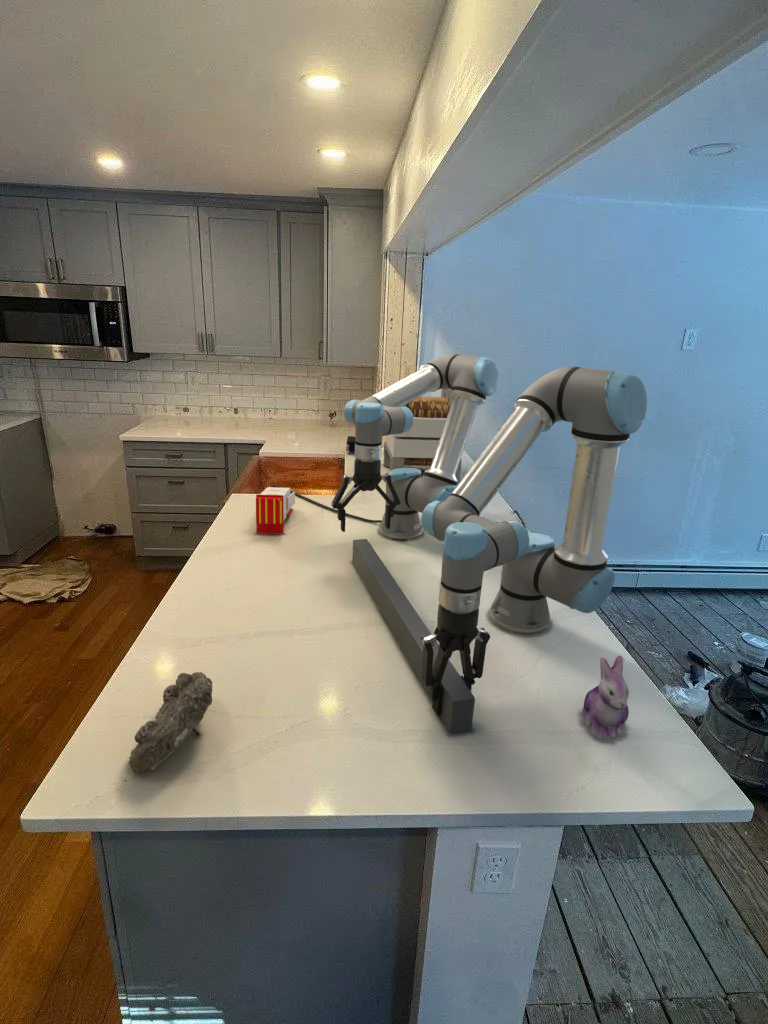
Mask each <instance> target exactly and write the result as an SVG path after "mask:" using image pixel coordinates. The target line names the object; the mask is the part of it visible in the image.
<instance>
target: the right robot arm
mask: <svg viewBox="0 0 768 1024" xmlns="http://www.w3.org/2000/svg"><path fill="white" fill-rule="evenodd" d="M647 408H648V394H647V388H646V386H645V385H644V382H643V380H642V379H641V378H640V377H639V376H637V375H635V374H632V373H628V372H624V371H620V370H611V369H610V370H609V369H601V368H600V369H599V368H589V367H580V366H576V365H575V366H573V365H572V366H571V365H570V366H563V367H560V368H556V369H554V370H552V371H550V372H548V373H545V374H544V375H543V376H541V377H539V378H537V380H535V381H534V382H533V383H531V384H530V385H529V386H528V387H527V388H526V389H525V390H524V391H523V392H522V393H521V394H520V395H519V396H518V398H517V399H516V400H515V402H514V403H513V405H512V411H513V412H512V413H511V414H510V416H509V417H508V418H507V420H506V421H505V422H504V423H503V424H502V427H501V428H500V429H499V430H498V431H497V433H496V434H495V436H494V437H493V438H492V439H491V441H490V442H489V443H488V444H487V446H486V447H485V449H484V450H483V451H482V452H481V454H480V455H479V456H478V457H477V459H476V460H475V461H474V463H473V464H472V465H471V467H470V468H469V470H468V471H466V473H465V474H464V476H463V477H462V478H461V479H460V482H459V483H457V486H456V488H455V489H454V490H453V492H452V493H451V494H450V495H449V497H448V498H447V499H446V500H445V502H443V501H433V502H432V503H430V504H428V505H427V506H426V507H425V509H424V511H423V513H421V516H420V522H421V525H422V531H424V532H425V534H427V535H429V536H430V537H432V538H434V539H436V540H438V541H439V542H443V544H442V546H441V547H442V548H441V549H442V558H441V559H442V560H441V575H440V581H439V583H440V584H439V594H438V607H437V617H436V628H435V629H434V631H433V634H432V635H431V636H428V637H426V636H425V635H423V636H422V637H421V642H422V645H423V656H422V672H421V678H422V680H423V681H424V683H425V685H426V686H430V693H429V694H430V697H431V698H432V700H433V703H432V709H433V711H434V713H435V714H436V716H437V717H440V716H441V708H442V698H443V686H442V685H441V681H442V678H443V675H444V672H445V669H446V666H447V663H448V660H450V659H451V658H452V655H453V653H454V652H456V651H458V652H459V657H460V658H459V659H460V663H461V664H460V665H461V671H462V675H460V676H461V678H462V679H463V681H464V682H465V684H466V685H467V687H468V688H469V690H470V691H471V692H472V686H473V685H475V683H476V679H482V677H483V672H484V666H485V665H484V664H485V660H486V659H485V658H486V651H487V645H488V643H489V641H490V639H491V634H490V633H489V632H488V630H487V629H486V628H485V627H481V628H478V623H479V615H480V604H481V596H482V587H483V579H484V573H485V572H487V571H489V570H492V569H494V568H497V567H499V566H502V570H501V576H500V577H501V578H500V586H499V589H498V592H497V594H496V595H495V597H494V600H493V601H492V604H491V606H490V608H489V619H490V621H491V622H492V623H493V624H494V625H495V626H496V627H498V628H500V629H501V630H504V631H506V632H508V633H513V634H517V635H524V636H526V635H527V636H529V635H532V636H533V635H539V634H541V633H544V632H546V631H547V630H548V629H549V627H550V624H551V623H550V622H551V613H550V609H549V604H548V599H547V598H549V599H551V600H553V601H556V602H557V603H560V604H562V605H564V606H566V607H569V609H571V610H576V611H578V612H581V613H583V614H591V613H594V612H595V611H596V610H598V609H599V608H601V606H602V605H603V604H604V603H605V601H606V600H607V599H608V597H609V595H610V594H611V591H612V590H613V587H614V584H615V580H616V574H615V571H614V570H613V569H611V567H607V563H608V559H609V556H608V554H607V553H606V551H605V550H604V549H603V545H604V540H605V533H606V528H607V523H608V517H609V511H610V505H611V499H612V494H613V488H614V482H615V476H616V472H617V471H616V470H617V464H618V460H619V454H620V448H621V446H623V445H624V444H626V442H628V441H630V436H631V435H633V434H635V433H636V432H638V430H640V428H641V427H642V425H643V421H644V420H645V418H646V415H647V410H648V409H647ZM562 421H563V422H568V423H571V424H572V425H571V432H570V434H571V436H572V437H573V438H574V439H575V441H576V448H575V456H574V462H573V469H572V475H571V483H570V489H569V495H568V503H567V509H566V510H567V511H566V516H565V522H564V531H563V537H562V542H561V543H559V544H558V545H556V542H555V539H554V537H552V536H550V535H546V534H544V533H543V534H542V533H535V532H528V531H527V527H526V523H525V522H524V520H523V518H522V517H521V515H520V514H519V512H518V511H517V510H515V509H514V510H513V512H512V513H513V514H516V516H517V518H518V519H519V520H520V522H519V521H516V520H503V521H500V522H497V521H494V520H491V519H488V518H486V517H484V516H483V517H482V516H481V514H482V513H483V512H484V511H485V509H486V507H487V506H488V505H489V503H490V502H491V501H492V499H493V498H494V497H495V496H496V494H497V493H498V491H500V489H501V488H502V486H503V485H504V483H505V482H506V481H507V479H508V478H509V477H510V475H512V473H513V471H514V470H515V469H516V467H517V466H518V465H519V463H521V461H522V460H523V458H524V457H525V455H526V454H527V453H528V452H529V450H530V449H531V447H532V446H533V445H534V444H535V442H536V440H537V439H538V438H539V437H540V435H541V434H542V433H545V432H548V431H550V429H551V428H552V427H553V426H554V425H555V424H556V423H558V422H562ZM525 528H526V529H525ZM436 641H437V643H438V644H439V647H438V649H439V651H438V654H437V657H436V660H435V663H434V666H433V655H434V652H433V649H434V648H435V642H436ZM473 641H474V647H473V654H472V652H471V645H470V644H471V643H472V642H473ZM471 654H472V658H471Z"/></svg>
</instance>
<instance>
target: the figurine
mask: <svg viewBox="0 0 768 1024" xmlns="http://www.w3.org/2000/svg"><path fill="white" fill-rule="evenodd" d="M599 666H600V667H599V669H600V681H599V684H598V685H597V686H595V687H593V688H592V689H590V690H589V691H588V692H586V694H585V697H584V701H583V708H582V714H581V715H582V719H583V722H584V725H585V726H586V727H587V728H588V729H589V731H590V732H591V734H592V735H593V736H594V737H596V738H598V739H601V740H606V741H614V739H616V737H620V736H622V734H623V732H624V728H625V725H626V722H627V721H628V718H629V713H630V709H629V705H628V699H629V695H630V691H629V686H628V683H627V682H626V680H625V678H624V658H623V656H622V655H621V654H620V655H617V656H616V658H615V659H614V662H613V664H612V666H611V665H610V664H609V662H608V660H607V659H606V658H605V656H600V657H599Z"/></svg>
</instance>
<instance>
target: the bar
mask: <svg viewBox="0 0 768 1024" xmlns="http://www.w3.org/2000/svg"><path fill="white" fill-rule="evenodd" d="M352 564H353V565H354V567H355V570H356V571H357V573H358V574H359V576H360V578H361V580H362V581H363V583H364V585H365V587H366V589H367V590H368V592H369V594H370V596H371V598H372V599H373V601H374V602H375V604H376V606H377V608H378V610H379V611H380V613H381V615H382V617H383V619H384V621H385V622H386V624H387V625H388V627H389V629H390V631H391V633H392V634H393V636H394V638H395V639H396V642H397V643H398V645H399V646H400V648H401V650H402V652H403V654H404V656H405V658H406V659H407V661H408V663H409V664H410V666H411V668H412V670H413V671H414V673H415V676H417V679H418V681H419V682H420V684H421V686H422V687H423V690H424V691H425V692H426V694H427V696H428V698H429V700H430V702H431V703H432V704H433V700H432V698H431V697H430V694H429V693H430V686H426V685H425V683H424V681H423V680H422V678H421V672H422V656H423V645H422V642H421V637H422V636H423V635H425V636H426V637H428V636H431V635H433V634H432V632H431V631H430V630H429V628H428V627H427V625H426V624H425V622H424V620H423V619H422V617H421V616H420V615H419V614H418V612H417V610H416V609H415V608H414V606H413V605H412V603H411V602H410V600H409V599H408V597H407V596H406V594H405V593H404V591H403V590H402V588H401V587H400V585H399V584H398V582H397V581H396V579H395V578H394V576H392V573H391V572H390V570H389V569H388V568H387V565H386V564H385V563H384V562H383V561H382V559H381V557H380V556H379V555H378V553H377V552H376V550H375V549H374V547H373V545H372V544H371V542H370V541H369V540H368V538H360V539H353V540H352ZM438 647H439V642H438V640H437V641H436V642H435V648H434V649H433V652H434V655H433V666H434V663H435V660H436V657H437V654H438V651H439V649H438ZM461 676H462V675H460V673H459V672H458V671H457V669H456V667H455V666H454V665H453V663H452V662H451V660H450V659H449V660H448V663H447V666H446V669H445V672H444V675H443V678H442V681H441V685H442V686H443V698H442V708H441V716H439V717H440V719H441V721H442V723H443V724H444V726H445V728H446V730H447V731H448V733H449V735H452V734H457V733H462V732H463V733H464V732H470V731H472V728H473V727H472V726H473V719H474V709H475V702H476V697H475V695H474V693H472V690H471V691H470V690H469V688H468V687H467V685H466V684H465V682H464V681H463V679H462V678H461Z"/></svg>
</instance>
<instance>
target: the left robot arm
mask: <svg viewBox="0 0 768 1024" xmlns="http://www.w3.org/2000/svg"><path fill="white" fill-rule="evenodd" d="M499 382H500V372H499V367H498V365H497V363H496V362H495V360H493V359H492V358H491V357H485V356H482V355H479V356H478V355H477V356H476V355H467V354H459V353H450V354H446V355H443V356H440V357H437V358H434V359H432V360H430V361H428V362H426V363H423V364H422V365H421V366H420V367H419V368H418V370H417V371H415V372H414V373H412V374H410V375H408V376H406V377H404V378H402V379H400V380H399V381H396V382H395V383H393V384H391V385H389V386H387V387H385V388H383V389H381V390H379V391H378V392H376V393H374V394H372V395H370V396H369V397H366V398H364V399H362V400H360V399H350V400H349V401H347V403H346V404H345V406H344V409H343V416H344V419H345V421H346V422H347V423H349V424H351V425H354V426H355V427H354V432H355V434H354V437H355V454H354V458H355V459H354V462H353V463H354V464H353V467H354V468H353V470H354V471H353V476H352V475H347V474H344V475H343V476H342V481H341V484H340V486H339V487H338V490H337V491H336V492H335V495H334V497H333V499H332V501H331V503H330V506H331V507H330V506H327V505H325V504H323V503H320V502H318V501H315V500H313V499H311V498H310V497H306V496H304V495H302V494H300V493H297V492H295V497H299V498H301V499H303V500H306V501H307V502H310V503H312V504H315V505H317V506H319V507H321V508H324V509H326V510H329V511H332V512H334V513H337V517H336V518H337V519H338V521H340V530H341V532H342V533H345V532H346V516H347V517H348V518H352V519H357V520H359V521H363V522H368V523H373V524H378V523H379V527H378V533H379V534H380V535H381V536H382V537H385V538H387V539H389V540H395V541H410V540H415V539H418V538H420V537H421V536H422V535H423V528H422V525H421V517H420V515H419V513H421V514H422V513H423V511H424V509H425V507H426V506H427V505H428V504H430V503H432V502H433V501H443V502H445V500H446V499H447V498H448V497H449V495H450V494H451V493H452V492H453V490H454V489H455V488H456V486H457V485H458V484H459V483H458V481H457V479H456V477H455V474H456V471H457V468H458V465H459V462H460V459H461V458H462V457H463V453H464V450H465V447H466V444H467V441H468V438H469V435H470V433H471V430H472V427H473V424H474V421H475V417H476V414H477V411H478V408H479V406H481V405H483V404H485V402H486V400H487V397H490V396H492V395H494V394H495V392H496V391H497V390H498V387H499ZM442 389H450V390H451V394H452V396H453V401H452V404H451V407H450V410H449V413H448V416H447V419H446V422H445V425H444V428H443V431H442V434H441V437H440V440H439V443H438V446H437V449H436V452H435V455H434V458H433V461H432V464H431V465H430V466H429V468H427V469H425V470H424V471H423V474H422V470H421V469H420V468H416V467H404V468H399V469H394V470H391V471H390V470H388V472H386V473H385V474H381V471H382V470H381V469H382V460H381V458H382V448H383V447H382V444H383V437H386V435H392V434H398V433H399V434H401V433H403V432H407V431H409V430H410V429H411V428H412V426H413V422H414V417H413V414H412V412H411V410H410V409H409V408H407V407H402V406H404V405H406V404H407V403H409V402H411V401H413V400H415V399H416V398H418V397H423V395H425V394H427V393H435V392H437V391H439V390H442ZM382 481H383V482H384V483H385V491H384V490H383V489H382V488H381V486H380V483H381V482H382ZM352 482H353V483H354V484H353V485H352V487H351V488H350V489H349V490H348V492H346V490H347V489H348V486H349V485H350V484H351V483H352ZM271 486H272V487H276V488H282V487H280V486H277V485H274V484H273V485H271ZM374 490H376V491H377V492H378V493H379V495H380V496H381V497H382V499H383V500H384V501H385V504H384V505H385V507H384V508H385V509H384V513H383V515H382V519H376V520H375V519H369V518H364V517H361V516H358V515H354V514H350V513H347V512H346V509H345V508H346V507H347V505H348V504H349V503H350V502H351V500H352V499H353V498H354V497H355V496H356V495H357V494H358V493H360V491H361V492H367V491H369V492H373V491H374ZM293 492H294V491H292V490H290V495H291V494H292V493H293ZM345 493H346V494H345Z"/></svg>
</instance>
